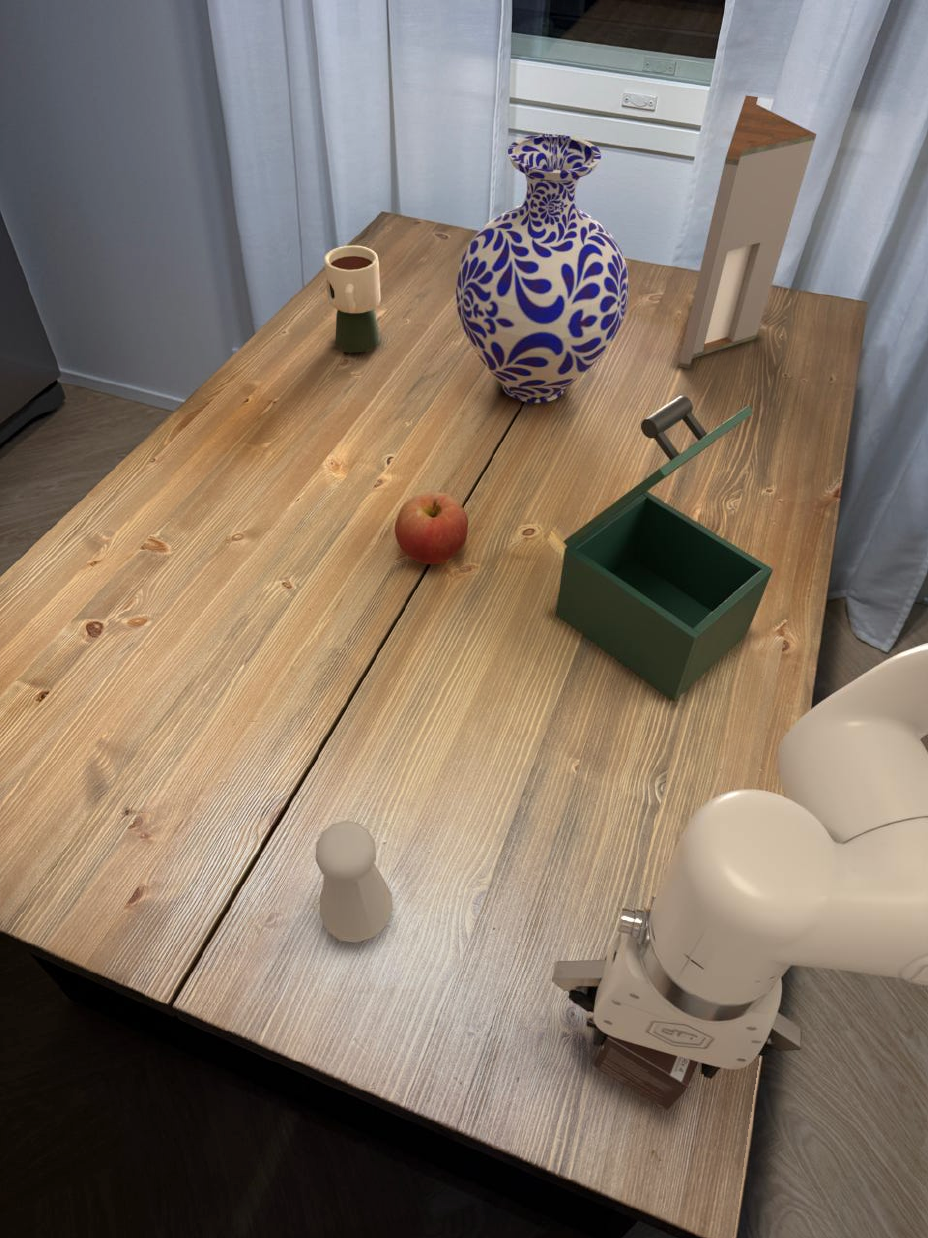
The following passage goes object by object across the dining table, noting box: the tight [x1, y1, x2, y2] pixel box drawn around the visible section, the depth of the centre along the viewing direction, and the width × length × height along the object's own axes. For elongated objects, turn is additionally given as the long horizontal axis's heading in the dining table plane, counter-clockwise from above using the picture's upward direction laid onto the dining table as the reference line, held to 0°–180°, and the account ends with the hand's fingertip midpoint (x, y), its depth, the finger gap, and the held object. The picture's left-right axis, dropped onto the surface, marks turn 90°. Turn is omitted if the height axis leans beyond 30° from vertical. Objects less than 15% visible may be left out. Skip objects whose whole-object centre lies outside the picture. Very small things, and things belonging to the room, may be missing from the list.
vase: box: [455, 133, 629, 404], centre depth 110 cm, size 22×22×30 cm
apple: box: [394, 491, 469, 565], centre depth 97 cm, size 8×8×8 cm
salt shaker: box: [315, 820, 393, 944], centre depth 67 cm, size 6×6×13 cm
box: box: [593, 1035, 700, 1111], centre depth 63 cm, size 6×6×7 cm
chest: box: [555, 491, 774, 702], centre depth 90 cm, size 16×13×10 cm
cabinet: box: [677, 95, 817, 369], centre depth 120 cm, size 21×10×28 cm, turn 162°
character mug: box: [323, 245, 381, 353], centre depth 122 cm, size 11×7×13 cm, turn 179°
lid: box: [562, 395, 754, 548], centre depth 82 cm, size 17×13×5 cm
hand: (653, 1039), depth 64 cm, fingers closed on box, 7 cm apart
